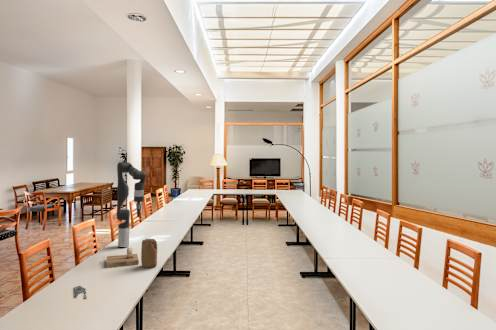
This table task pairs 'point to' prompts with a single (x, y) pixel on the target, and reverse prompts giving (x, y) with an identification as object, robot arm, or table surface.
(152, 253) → the block
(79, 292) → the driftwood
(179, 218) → the table surface
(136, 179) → the robot arm
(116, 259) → the board
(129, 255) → the peg
